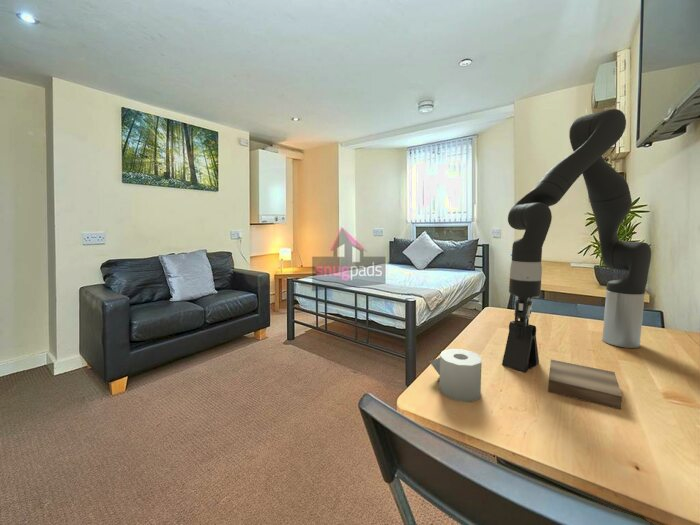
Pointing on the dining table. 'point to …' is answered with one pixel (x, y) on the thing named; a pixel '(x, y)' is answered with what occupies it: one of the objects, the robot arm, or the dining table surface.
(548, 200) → the robot arm
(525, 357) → the phone stand
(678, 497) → the dining table surface
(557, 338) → the dining table surface
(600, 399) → the walnut block
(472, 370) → the toilet tissue
